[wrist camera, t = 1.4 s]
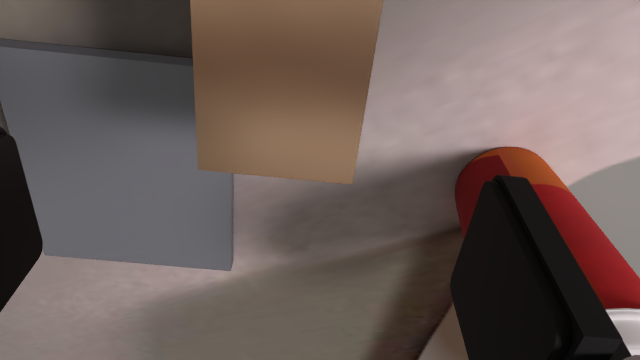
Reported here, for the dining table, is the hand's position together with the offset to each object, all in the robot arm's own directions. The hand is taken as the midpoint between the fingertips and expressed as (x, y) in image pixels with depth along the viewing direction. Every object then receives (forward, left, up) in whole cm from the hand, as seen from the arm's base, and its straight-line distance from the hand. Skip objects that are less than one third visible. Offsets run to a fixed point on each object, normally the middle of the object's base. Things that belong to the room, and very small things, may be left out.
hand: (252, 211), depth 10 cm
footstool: (0, 0, -16) cm, 16 cm away
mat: (+11, -9, -16) cm, 22 cm away
